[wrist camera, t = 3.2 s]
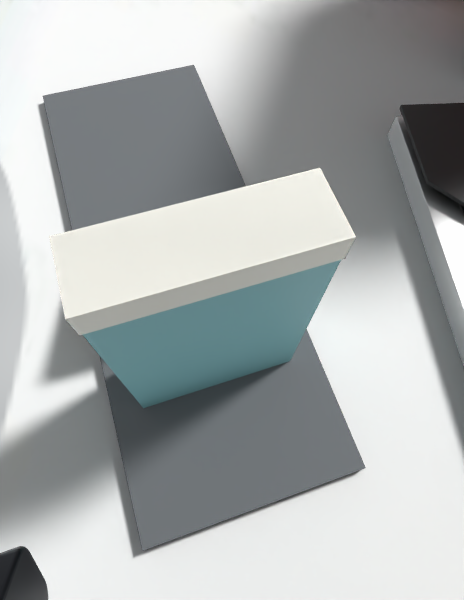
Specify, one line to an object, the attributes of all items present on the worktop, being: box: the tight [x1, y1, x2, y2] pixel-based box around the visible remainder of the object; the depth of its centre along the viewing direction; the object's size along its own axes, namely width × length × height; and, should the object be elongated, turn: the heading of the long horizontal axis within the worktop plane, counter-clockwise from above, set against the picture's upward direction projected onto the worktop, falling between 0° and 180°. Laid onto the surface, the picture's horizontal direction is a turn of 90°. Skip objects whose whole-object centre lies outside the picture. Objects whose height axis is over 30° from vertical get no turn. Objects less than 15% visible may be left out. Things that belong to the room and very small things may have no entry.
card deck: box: [49, 168, 356, 408], centre depth 15 cm, size 2×7×10 cm, turn 108°
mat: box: [43, 65, 365, 551], centre depth 22 cm, size 24×9×1 cm, turn 18°
